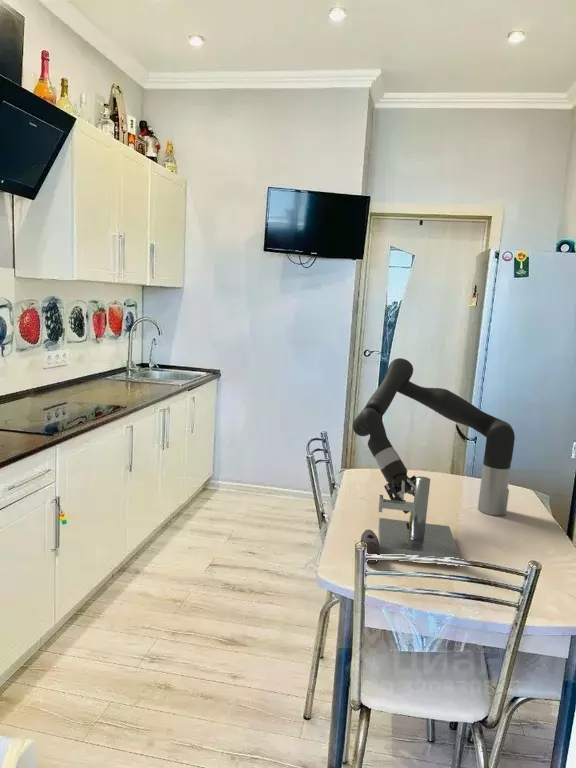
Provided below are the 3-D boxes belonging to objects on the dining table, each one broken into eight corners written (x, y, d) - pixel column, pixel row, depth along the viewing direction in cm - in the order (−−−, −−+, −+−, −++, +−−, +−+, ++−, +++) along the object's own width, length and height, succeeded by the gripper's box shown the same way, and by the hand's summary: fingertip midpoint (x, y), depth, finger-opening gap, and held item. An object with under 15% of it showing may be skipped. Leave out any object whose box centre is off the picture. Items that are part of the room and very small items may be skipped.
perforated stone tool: (358, 543, 166) (360, 521, 165) (375, 545, 165) (377, 523, 164) (360, 566, 151) (362, 542, 150) (379, 568, 151) (382, 544, 150)
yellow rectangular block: (419, 535, 174) (422, 505, 173) (420, 540, 171) (423, 509, 169) (407, 534, 175) (410, 504, 173) (408, 538, 171) (411, 508, 170)
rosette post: (447, 536, 175) (455, 470, 172) (458, 568, 153) (467, 492, 150) (375, 527, 178) (381, 462, 175) (375, 557, 157) (382, 483, 154)
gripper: (396, 467, 185) (421, 510, 178) (369, 473, 176) (394, 519, 169) (411, 455, 180) (437, 500, 174) (383, 461, 171) (410, 508, 164)
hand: (416, 509), depth 171 cm, fingers open, 8 cm apart
